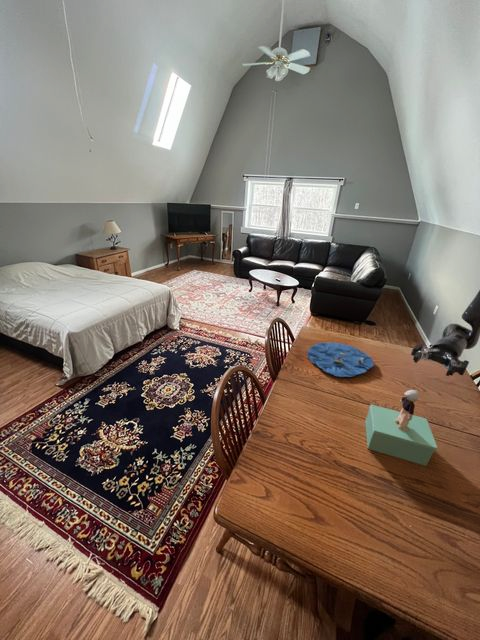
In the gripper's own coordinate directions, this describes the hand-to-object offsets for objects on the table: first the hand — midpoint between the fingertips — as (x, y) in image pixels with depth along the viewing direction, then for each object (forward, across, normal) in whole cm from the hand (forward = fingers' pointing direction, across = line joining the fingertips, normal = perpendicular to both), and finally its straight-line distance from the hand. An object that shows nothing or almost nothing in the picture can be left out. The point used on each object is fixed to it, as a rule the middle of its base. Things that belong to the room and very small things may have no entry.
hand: (431, 366), depth 80 cm
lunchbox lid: (+11, 0, +17) cm, 20 cm away
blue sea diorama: (-17, -36, +24) cm, 46 cm away
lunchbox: (+11, 0, +24) cm, 26 cm away
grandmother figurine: (+11, 0, +16) cm, 20 cm away
